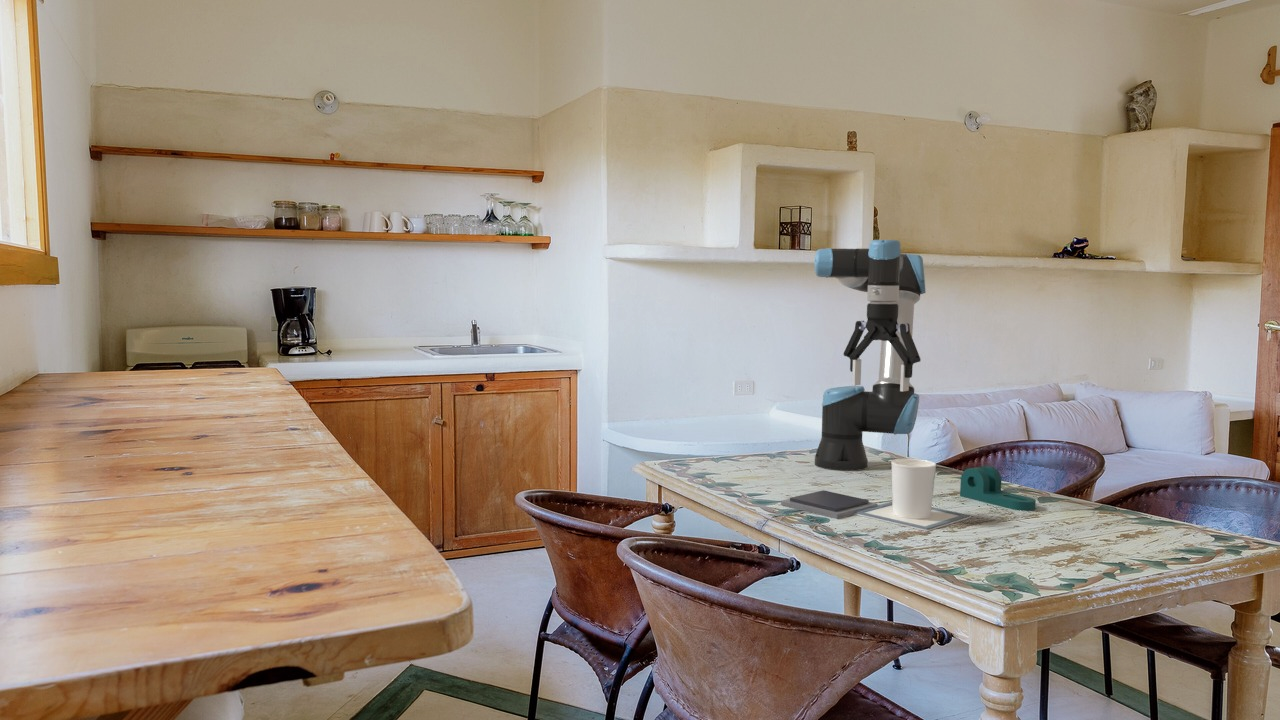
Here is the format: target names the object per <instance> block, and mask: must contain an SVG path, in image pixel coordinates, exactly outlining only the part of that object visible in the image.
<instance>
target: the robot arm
mask: <svg viewBox="0 0 1280 720" xmlns="http://www.w3.org/2000/svg"><path fill="white" fill-rule="evenodd" d="M814 256H815V257H814V273H815V275H816V276H817V277H819V278H835V279H837V280H838V281H839V283H840V284H841V285H842V286H845V287H847V288H850V289H851V290H852V289H853V290H856V291H859V292H864V293H867V297H866V299H867V301H868V302H869V303H867V304H866V320H867V321H864V320H857V321H855V326H854V330H853V333H852V334H851V337H850V338H849V341H848V342H847V345H846V347H845V350H844V352H843V356H844V357H847V358H848V359H849V371H850V372H851V373H852V377H851V378H852V379H851V380H852V381H851V385H848V386H837V387H836V386H835V387H831V388H827V389H826V390H825V391H824V392H823V397H822V404H821V407H822V409H821V410H822V411H821V413H822V415H821V416H822V417H821V438H820V441H819V444H818V447H817V450H816V452H815V455H814V465H815V466H816V467H819V468H823V469H828V470H835V471H836V470H837V471H860V470H865V469H867V468H868V464H869V463H868V456H867V453H866V450H865V447H864V443H863V433H864V432H867V433H878V434H879V433H880V434H892V435H909V434H911V432H913V430H914V428H915V424H916V420H917V416H918V410H919V403H920V395H919V394H917V393H916V392H915V386H913V385H912V384H911V382H910V380H911V379H910V378H912V377H913V365H914V364H917V363H920V362H921V360H922V359H921V357H920V354H919V351H918V349H917V346H916V344H915V342H914V339H913V329H914V315H915V314H914V311H915V304H917V303H918V302H919V301H920V300H921V295H923V294H926V292H927V291H926V290H927V289H926V281H925V267H924V266H925V265H924V260H923V257H922V256H921V255H920V254H918V253H917V254H916V253H915V254H914V253H911V254H910V253H902V250H901V242H900V240H899V239H873V240H871V241H869V246H868V248H831V247H827V248H819V249H817V251H816V252H815V255H814ZM865 330H867V333H866V334H865V335H864V336H863V334H864V332H865ZM862 336H863V338H862ZM861 338H862V340H861ZM860 340H861V341H860ZM873 341H880V342H881V343H880V355H879V368H878V369H879V371H878V380H877V381H876V382H875V383H874V384H872V391H865V387H864V386H863V385H861V381H862V359H860V356H862V354H863V353H864V352H865V351H866V350H867V348H868V347H869V346H870V344H871V343H872V342H873ZM859 342H860V343H859Z"/></svg>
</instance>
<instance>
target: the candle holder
mask: <svg viewBox="0 0 1280 720" xmlns="http://www.w3.org/2000/svg"><path fill="white" fill-rule="evenodd" d="M890 462H891V463H890V464H891V500H892V501H891V502H892V510H893V514H894V515H896V516H899V517H902V518H908V519H926V518H929V517H930V515H931V508H932V507H933V499H934V488H935V481H936V480H935V478H936V469H937V464H936V463H935V462H933V461H930V460H925V459H916V458H896V459H893V460H891V461H890Z"/></svg>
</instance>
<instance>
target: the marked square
mask: <svg viewBox="0 0 1280 720" xmlns="http://www.w3.org/2000/svg"><path fill="white" fill-rule="evenodd" d="M853 515H855V516H859V517H860V516H861V517H864V518H868V519H872V520H877V521H881V522H886V523H889V524H895V525H898V526H902V527H906V528H911V529H915V530H919V531H923V532H924V531H925V532H930V531H933V530H937V529H940V528H943V527H946V526H949V525H952V524H956V523H958V522H962V521H965V520H967V519H971V518H973V517H972V516H971V515H970V514H966V513H961V512H957V511H951V510H946V509H942V508H938V507H933V506H932V508H931V515H930V517H929V518H926V519H908V518H902V517H899V516H896V515H894V514H893V510H892V501H890V502H885V503H881V504H879V505H878V506H875V507H871V508H868V509H864V510H860V511H856V512H855V513H854V514H853Z"/></svg>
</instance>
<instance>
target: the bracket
mask: <svg viewBox="0 0 1280 720" xmlns="http://www.w3.org/2000/svg"><path fill="white" fill-rule="evenodd" d="M959 487H960V490H959V497H960V498H961V497H962V498H966V499H969V500H972V501H973V500H974V501H977V502H982V503H986V504H990V505H994V506H997V507H1001V508H1006V509H1010V510H1013V511H1014V510H1015V511H1020V510H1021V511H1022V512H1023V511H1024V512H1031V511H1036V504H1037V503H1036V502H1037V501H1036V499H1035V498H1032V497H1029V496H1024V495H1020V494H1016V493H1012V492H1008V491H1003V490H1002V476H1001V473H1000V471H998V469H996V468H995V467H994V466H992V465H984V466H979V467H969V468H966V469H965V470H963V472H962V473H961V475H960V485H959Z"/></svg>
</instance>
